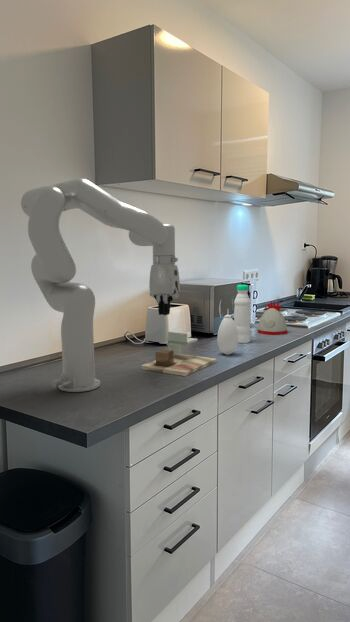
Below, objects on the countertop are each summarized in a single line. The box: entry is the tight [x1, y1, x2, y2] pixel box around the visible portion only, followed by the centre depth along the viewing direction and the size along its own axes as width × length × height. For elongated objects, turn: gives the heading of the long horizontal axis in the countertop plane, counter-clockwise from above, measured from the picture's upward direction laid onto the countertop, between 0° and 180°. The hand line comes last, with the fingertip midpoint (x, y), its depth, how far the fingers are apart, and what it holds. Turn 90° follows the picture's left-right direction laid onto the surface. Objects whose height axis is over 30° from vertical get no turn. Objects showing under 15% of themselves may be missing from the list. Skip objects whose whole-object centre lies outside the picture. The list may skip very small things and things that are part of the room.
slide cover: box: [167, 331, 199, 355], centre depth 177 cm, size 8×8×9 cm
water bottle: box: [233, 284, 252, 344], centre depth 208 cm, size 7×7×25 cm
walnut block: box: [155, 348, 174, 367], centre depth 168 cm, size 4×4×6 cm
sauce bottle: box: [216, 309, 239, 356], centre depth 186 cm, size 8×8×18 cm
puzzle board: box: [140, 353, 218, 377], centre depth 171 cm, size 22×18×1 cm
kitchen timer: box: [257, 301, 288, 336], centre depth 230 cm, size 14×14×15 cm
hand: (164, 314), depth 165 cm, fingers closed
